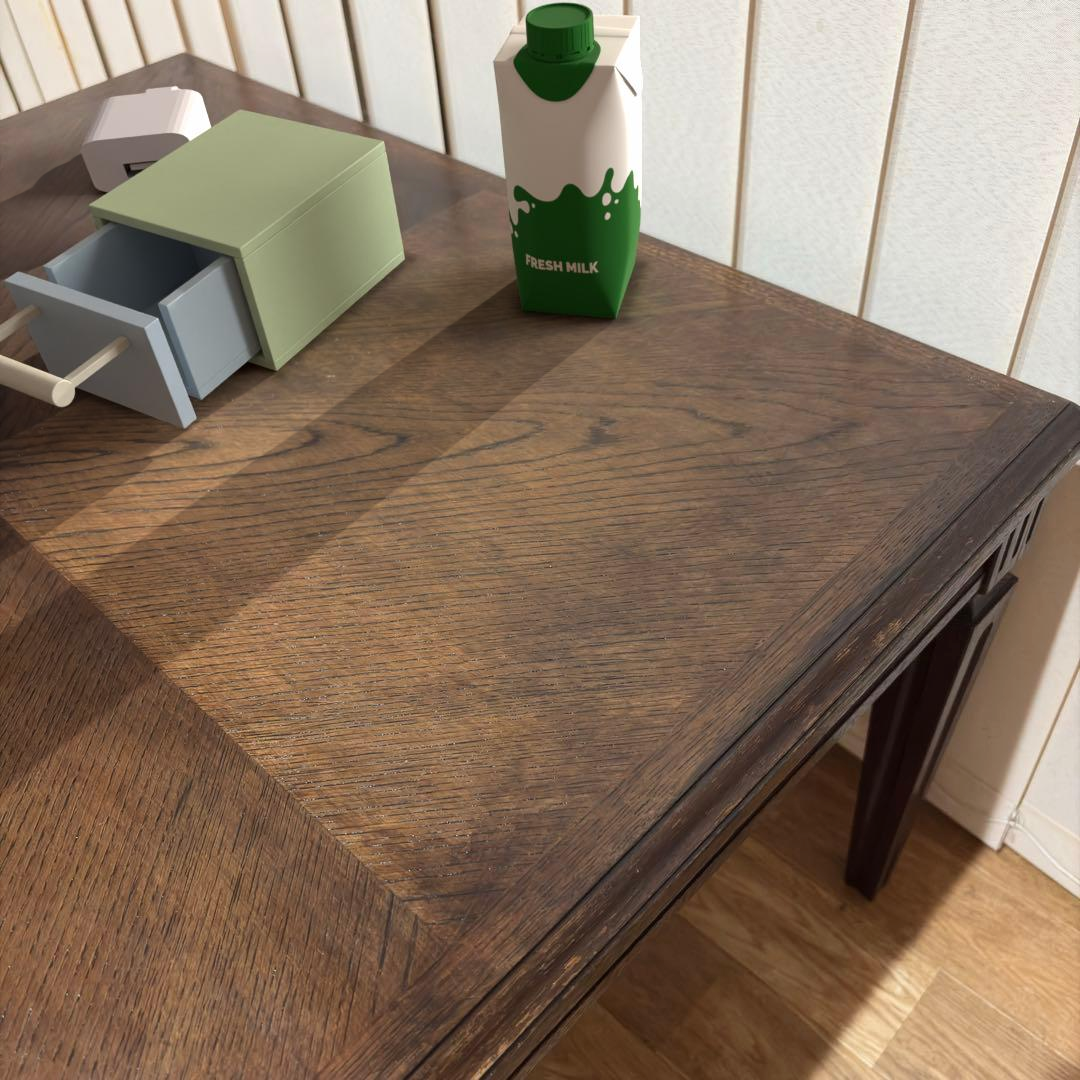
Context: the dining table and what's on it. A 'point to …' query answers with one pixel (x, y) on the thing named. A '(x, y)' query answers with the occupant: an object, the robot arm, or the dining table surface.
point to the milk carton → (572, 156)
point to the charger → (140, 132)
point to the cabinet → (274, 218)
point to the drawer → (132, 323)
